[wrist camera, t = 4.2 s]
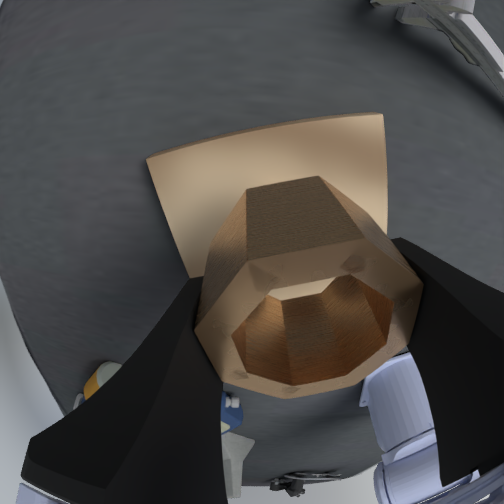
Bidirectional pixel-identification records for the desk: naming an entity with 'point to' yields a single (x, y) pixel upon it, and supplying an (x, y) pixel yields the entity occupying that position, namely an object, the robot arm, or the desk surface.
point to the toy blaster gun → (229, 406)
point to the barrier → (234, 461)
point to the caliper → (455, 31)
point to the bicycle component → (297, 482)
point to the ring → (306, 307)
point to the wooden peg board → (268, 177)
